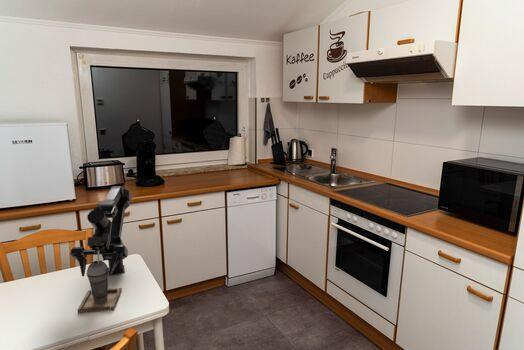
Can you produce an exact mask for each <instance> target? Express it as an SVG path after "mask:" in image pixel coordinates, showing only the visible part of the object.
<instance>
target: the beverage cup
mask: <svg viewBox="0 0 524 350" xmlns="http://www.w3.org/2000/svg"><path fill="white" fill-rule="evenodd" d="M108 267H109V266H108V265H107V264H106V262H104V260H103V261H102V260H100V255H99V250H98V255H97V260H94V261H93V262H91V263H90V264H89V265H88V266H87V268H86V269H87V270H86V276H87V278H88V281H89V286H90V290H91V292H92V295H93V299H94V302H95V303H96V304H101V303H104V302H106V301H107V299H108V298H107V297H108V289H109V287H108V286H109V282H108V281H109V280H108V278H109V275H108V271H109V269H108Z"/></svg>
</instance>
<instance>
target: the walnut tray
mask: <svg viewBox="0 0 524 350" xmlns="http://www.w3.org/2000/svg"><path fill="white" fill-rule="evenodd" d="M122 292H123V290H122V287H120V288H119V287H118V288H117V287H116V288H108V297H107V298H108V299H107V301H106V302H104V303H101V304H96V303H95V302H94V299H93V295H92V291H91V289H88V290H87V292H86V294H85V296H84V297H83V299H82V301H81V303H80V304H79V306H78V308H77V314H88V313H99V312H100V313H101V312H103V313H104V312H114V311H115V309H116V307H117V304H118V302H119V300H120V298H121V296H122V295H121V294H122Z"/></svg>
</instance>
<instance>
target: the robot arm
mask: <svg viewBox="0 0 524 350" xmlns="http://www.w3.org/2000/svg"><path fill="white" fill-rule="evenodd" d="M132 199H133V198H132V193H131V191H130V190H128V189H126V188H124V187H123V186H118V185H117V186H112V187H110V188H109V192H108V194H107V195H106V197H105V198H104V199H103V200H102V201H98V203H97V204H96V205H95V206H94V208H93V209H91V211H90V212H89V213H88V214H87V216H86V217H87V219H86V220H87V221H88V222H89V223H90V225H91V226H92V227H93V228H94V233H93V234H92V236H89V237H87V244H86V245H87V247H88V248H90V249H86V248H85V247H84V246H75V247H72V248H71V249H70V253H69V256H71V257H72V258H73V259H74V260H77V262H78V264H79V268H80V272H81V273H80V274H81V276H82V277H83V278H84V277H85V274H86V271H87V270H86V269H87V261H88V260H87V256H94V255H95V256H98V250H99V256H100V255H101V256H102V257H101V258H102V260H103V261H107V262H108V263H107V264H108V266H107V267H108V269H109V271H108V276H112V275H118V274H124V273H126V269H125V264H124V260H125V259H126V258H127V257H128V254H129V251H128V248H127V247H126V246H125V245H124V242H123V241H122V231H123V226H124V219H125V212H126V210H127V209H128V208H129V207H130V206H131V205H130V203H131V201H132ZM110 219H111V220H110Z"/></svg>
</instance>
